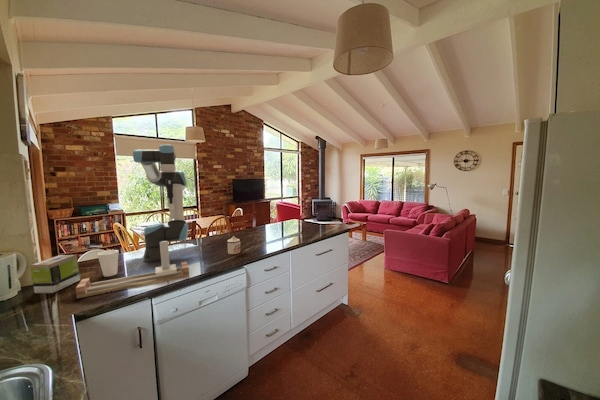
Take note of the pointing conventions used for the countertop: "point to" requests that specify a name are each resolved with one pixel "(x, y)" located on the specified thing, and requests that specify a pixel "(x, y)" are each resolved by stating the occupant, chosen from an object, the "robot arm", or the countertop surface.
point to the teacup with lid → (233, 245)
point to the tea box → (55, 273)
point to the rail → (127, 282)
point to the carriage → (165, 261)
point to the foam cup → (109, 262)
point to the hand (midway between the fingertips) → (170, 208)
